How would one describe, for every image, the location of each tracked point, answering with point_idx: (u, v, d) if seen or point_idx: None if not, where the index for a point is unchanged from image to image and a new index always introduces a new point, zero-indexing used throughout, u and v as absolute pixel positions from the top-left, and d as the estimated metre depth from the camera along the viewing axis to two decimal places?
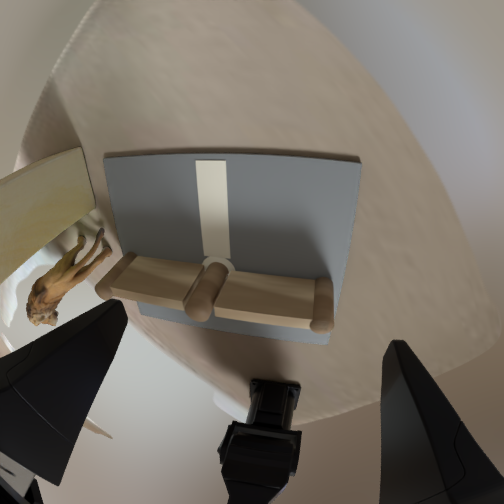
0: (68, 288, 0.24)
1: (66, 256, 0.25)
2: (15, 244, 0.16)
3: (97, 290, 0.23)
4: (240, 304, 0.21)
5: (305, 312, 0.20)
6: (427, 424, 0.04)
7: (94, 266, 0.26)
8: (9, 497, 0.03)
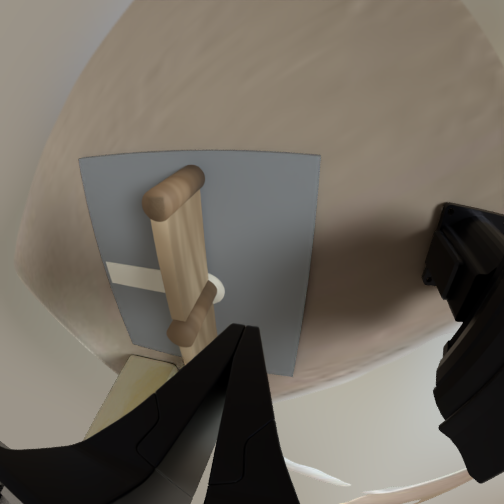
0: None
1: None
2: None
3: None
4: None
5: None
6: (226, 411, 0.05)
7: None
8: None
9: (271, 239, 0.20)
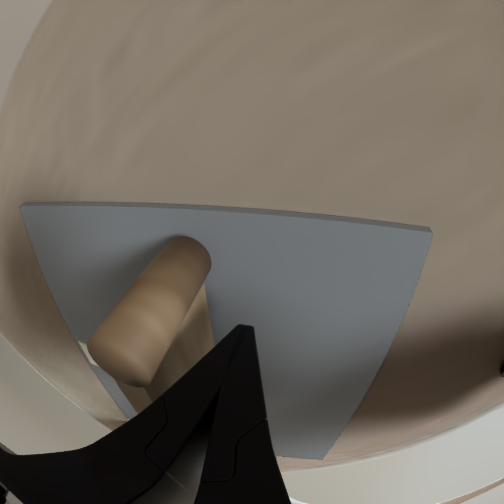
0: None
1: None
2: None
3: None
4: None
5: None
6: (219, 410, 0.05)
7: None
8: None
9: (326, 350, 0.12)
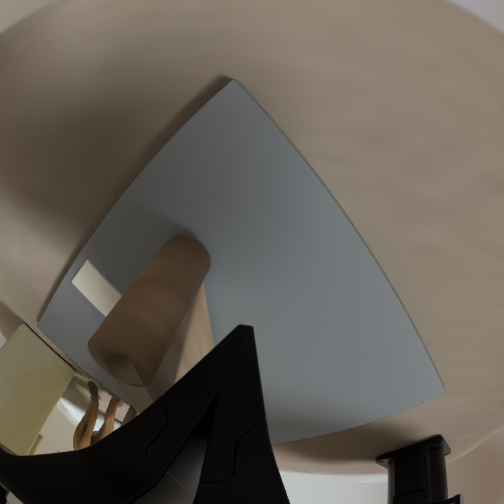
0: None
1: (79, 425, 0.18)
2: None
3: None
4: None
5: None
6: (218, 409, 0.05)
7: (109, 424, 0.18)
8: None
9: (341, 410, 0.14)
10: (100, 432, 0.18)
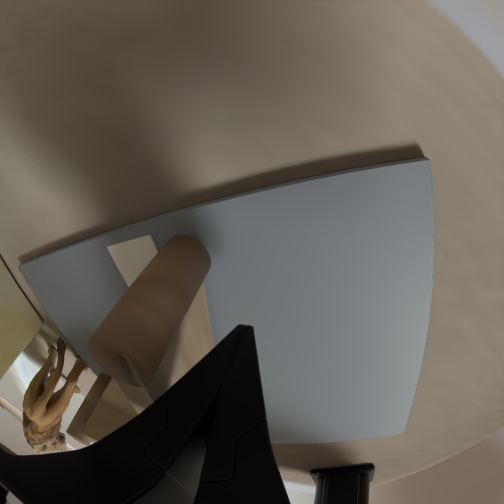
0: (47, 422, 0.14)
1: (33, 381, 0.15)
2: None
3: (71, 435, 0.13)
4: None
5: None
6: (218, 409, 0.05)
7: (69, 389, 0.16)
8: None
9: (319, 429, 0.16)
10: (57, 395, 0.15)
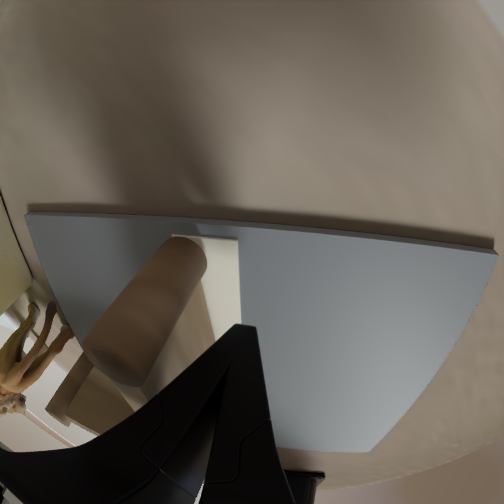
0: (19, 392, 0.12)
1: (10, 343, 0.13)
2: None
3: (49, 413, 0.12)
4: None
5: None
6: (222, 410, 0.05)
7: (51, 358, 0.14)
8: None
9: (301, 437, 0.17)
10: (36, 363, 0.14)
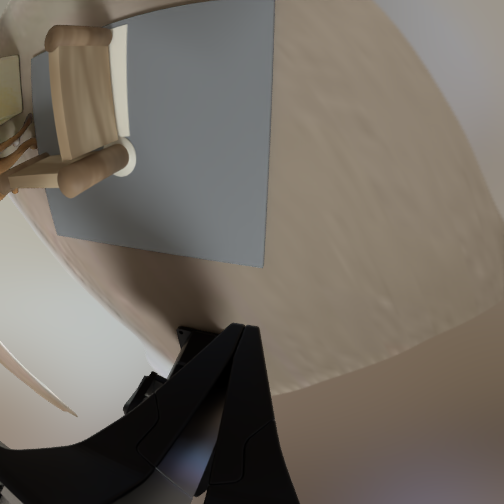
0: None
1: None
2: None
3: None
4: None
5: None
6: (226, 411, 0.05)
7: (16, 155, 0.18)
8: None
9: (184, 224, 0.21)
10: (5, 157, 0.17)
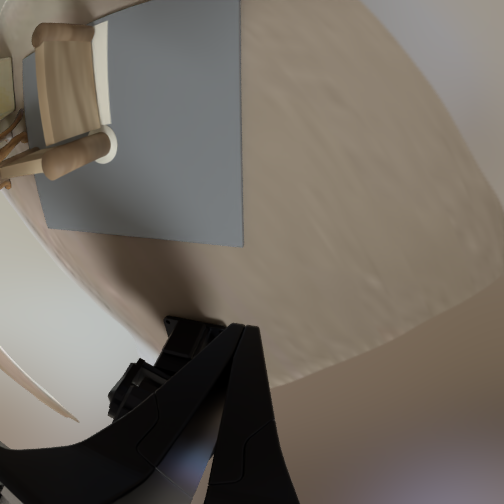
0: None
1: None
2: None
3: None
4: None
5: None
6: (226, 411, 0.05)
7: (7, 148, 0.18)
8: None
9: (164, 206, 0.20)
10: None
